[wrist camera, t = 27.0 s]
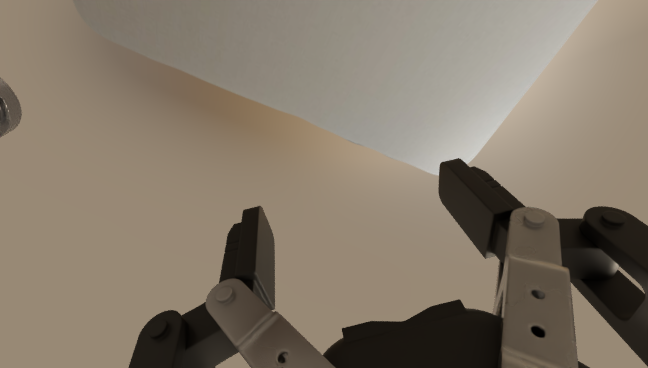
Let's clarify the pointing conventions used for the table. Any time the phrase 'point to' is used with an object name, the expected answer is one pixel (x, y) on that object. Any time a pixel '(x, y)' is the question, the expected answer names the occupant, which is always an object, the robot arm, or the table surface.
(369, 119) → the table surface
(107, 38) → the table surface
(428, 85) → the table surface
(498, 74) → the table surface
